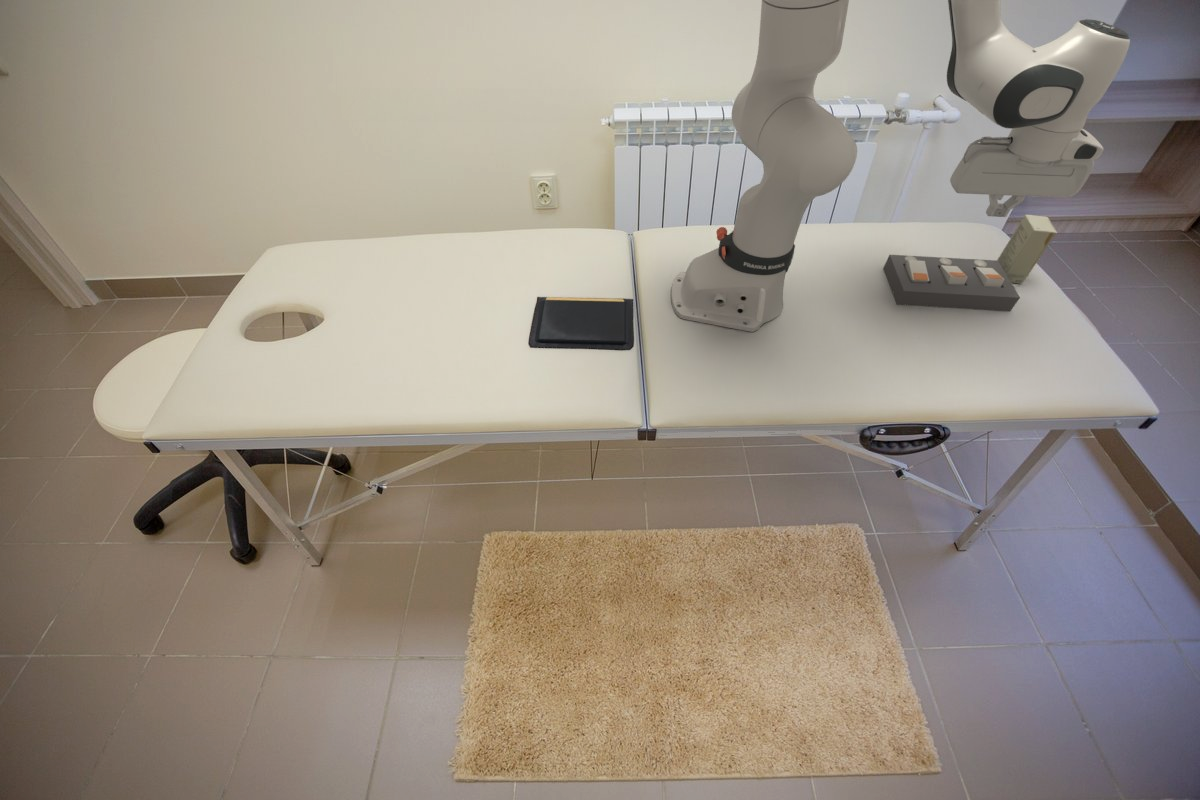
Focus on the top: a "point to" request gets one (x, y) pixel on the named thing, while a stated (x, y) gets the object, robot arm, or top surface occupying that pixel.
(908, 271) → the rocker left
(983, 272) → the rocker right
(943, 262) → the switch panel
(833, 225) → the top surface
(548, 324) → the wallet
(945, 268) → the rocker middle
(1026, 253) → the skincare box
